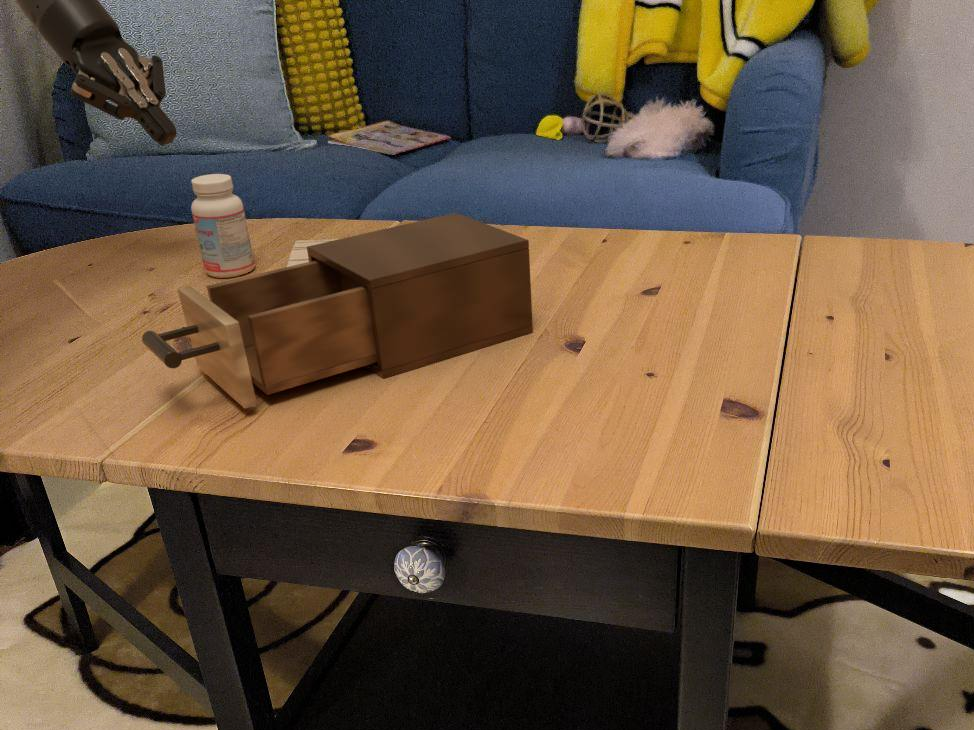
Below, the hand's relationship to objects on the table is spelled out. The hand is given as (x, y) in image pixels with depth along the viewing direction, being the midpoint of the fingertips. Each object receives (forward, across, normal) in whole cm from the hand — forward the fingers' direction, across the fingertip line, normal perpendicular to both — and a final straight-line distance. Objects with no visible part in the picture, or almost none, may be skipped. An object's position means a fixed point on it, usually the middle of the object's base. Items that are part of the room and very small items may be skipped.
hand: (169, 139), depth 113 cm
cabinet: (+37, -7, -19) cm, 42 cm away
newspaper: (+25, +11, -4) cm, 27 cm away
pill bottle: (+14, +1, +8) cm, 16 cm away
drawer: (+31, -22, -15) cm, 41 cm away
